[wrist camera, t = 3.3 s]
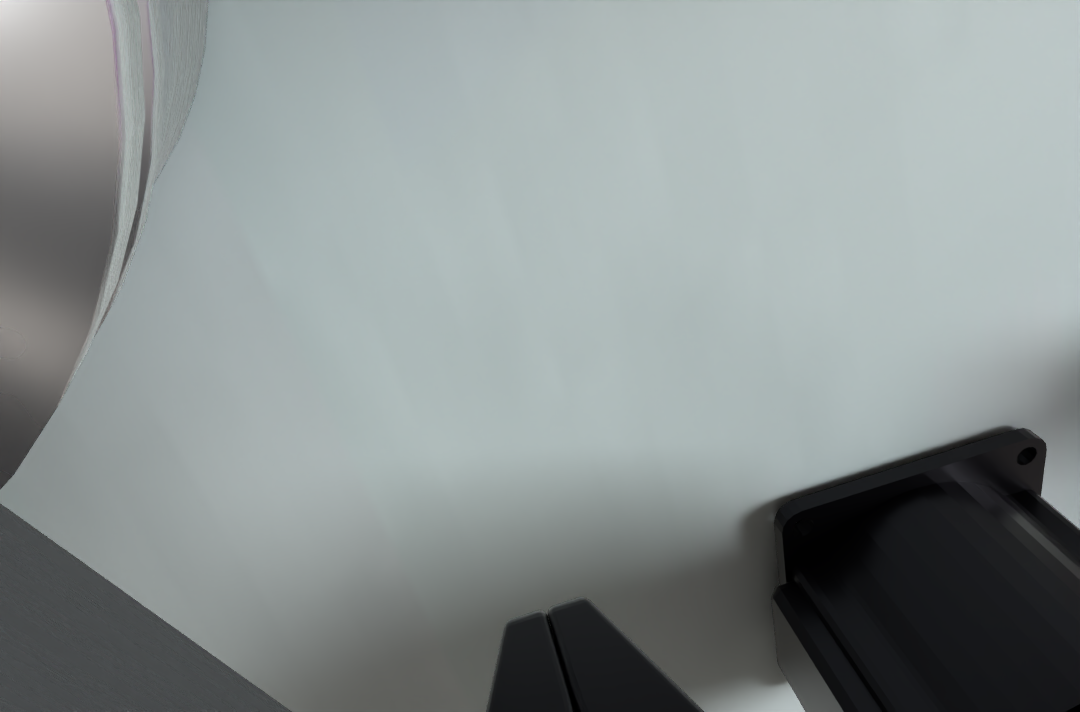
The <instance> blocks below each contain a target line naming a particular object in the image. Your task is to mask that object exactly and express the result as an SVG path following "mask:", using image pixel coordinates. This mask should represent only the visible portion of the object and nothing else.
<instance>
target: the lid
mask: <svg viewBox="0 0 1080 712" xmlns="http://www.w3.org/2000/svg"><path fill="white" fill-rule="evenodd" d="M144 125H145V99H144V80H143V61H142V43H141V24H140V13H139V7H138V2H137V0H0V489H1V488H2V487H3V486H4V485H5V484H6V483H7V481H8V480H9V479H10V478H11V477H12V476H13V475H14V474H15V472H16V470H17V469H18V467H19V466H20V464H21V463H22V461H23V460H24V458H25V456H26V455H27V453H28V452H29V450H30V449H31V447H32V446H33V444H34V442H35V441H36V439H37V438H38V436H39V435H40V433H41V432H42V430H43V428H44V427H45V425H46V424H47V422H48V421H49V419H50V418H51V416H52V415H53V413H54V411H55V410H56V408H57V407H58V405H59V403H60V401H61V399H62V398H63V396H64V394H65V392H66V390H67V388H68V387H69V385H70V383H71V381H72V379H73V378H74V376H75V374H76V372H77V370H78V368H79V367H80V365H81V363H82V361H83V359H84V358H85V356H86V354H87V352H88V350H89V348H90V346H91V343H92V341H93V339H94V336H95V334H96V332H97V329H98V327H99V325H100V322H101V320H102V318H103V315H104V313H105V311H106V308H107V306H108V304H109V301H110V299H111V297H112V294H113V292H114V290H115V287H116V285H117V283H118V280H119V276H120V272H121V268H122V264H123V260H124V255H125V251H126V247H127V243H128V239H129V235H130V231H131V227H132V223H133V219H134V215H135V211H136V207H137V203H138V192H139V181H140V169H141V158H142V147H143V136H144ZM0 712H291V711H290V710H288V709H287V708H286V707H284V706H283V705H281V704H280V703H279V702H277V701H276V700H274V699H273V698H272V697H270V696H269V695H267V694H266V693H265V692H263V691H262V690H260V689H259V688H258V687H256V686H255V685H253V684H252V683H251V682H249V681H248V680H246V679H245V678H244V677H242V676H241V675H239V674H238V673H237V672H235V671H234V670H232V669H231V668H230V667H228V666H227V665H225V664H224V663H223V662H221V661H220V660H218V659H217V658H216V657H214V656H213V655H211V654H210V653H209V652H207V651H206V650H204V649H203V648H202V647H200V646H199V645H197V644H196V643H195V642H193V641H192V640H191V639H189V638H188V637H186V636H185V635H184V634H182V633H181V632H179V631H178V630H177V629H175V628H174V627H172V626H171V625H170V624H168V623H167V622H165V621H164V620H163V619H161V618H160V617H158V616H157V615H156V614H154V613H153V612H151V611H150V610H149V609H147V608H146V607H144V606H143V605H142V604H140V603H139V602H137V601H136V600H135V599H133V598H132V597H130V596H129V595H128V594H126V593H125V592H123V591H122V590H121V589H119V588H118V587H116V586H115V585H114V584H112V583H111V582H109V581H108V580H107V579H105V578H104V577H102V576H101V575H100V574H98V573H97V572H95V571H94V570H93V569H91V568H90V567H88V566H87V565H86V564H84V563H83V562H81V561H80V560H79V559H77V558H76V557H74V556H73V555H72V554H70V553H69V552H67V551H66V550H65V549H63V548H62V547H60V546H59V545H58V544H56V543H55V542H53V541H52V540H51V539H49V538H48V537H46V536H45V535H44V534H42V533H41V532H39V531H38V530H37V529H35V528H34V527H32V526H31V525H30V524H28V523H27V522H25V521H24V520H23V519H21V518H20V517H18V516H17V515H16V514H14V513H13V512H11V511H10V510H9V509H7V508H6V507H4V506H3V505H2V504H0Z"/></svg>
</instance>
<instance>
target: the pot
mask: <svg viewBox="0 0 1080 712" xmlns="http://www.w3.org/2000/svg"><path fill="white" fill-rule="evenodd" d="M137 2H138V7H139V13H140V24H141V43H142V61H143V80H144V99H145V125H144V136H143V147H142V158H141V169H140V181H139V192H138V203H137V207H136V211H135V215H134V219H133V223H132V227H131V231H130V235H129V239H128V243H127V247H126V251H125V255H124V260H123V264H122V268H121V272H120V276H119V280H118V283H117V285H116V287H115V290H114V292H113V294H112V297H111V299H110V301H109V304H108V306H107V308H106V311H105V313H104V315H103V318H102V320H101V322H100V325H99V327H98V329H97V331H98V330H99V328H100V326H101V324H102V323H103V321H104V319H105V317H106V315H107V314H108V312H109V310H110V308H111V306H112V305H113V303H114V301H115V299H116V297H117V296H118V294H119V292H120V290H121V288H122V286H123V283H124V280H125V277H126V275H127V272H128V269H129V267H130V264H131V261H132V259H133V256H134V253H135V250H136V248H137V245H138V242H139V240H140V237H141V234H142V231H143V229H144V226H145V223H146V219H147V214H148V209H149V204H150V199H151V194H152V189H153V185H154V183H155V181H156V180H157V178H158V176H159V175H160V173H161V171H162V169H163V167H164V166H165V164H166V162H167V160H168V159H169V157H170V155H171V153H172V151H173V150H174V148H175V146H176V144H177V142H178V141H179V138H180V136H181V133H182V130H183V128H184V125H185V122H186V119H187V117H188V114H189V111H190V109H191V106H192V103H193V101H194V98H195V94H196V89H197V85H198V80H199V75H200V70H201V66H202V61H203V56H204V52H205V42H206V28H207V13H208V0H137ZM96 333H97V332H96ZM95 335H96V334H95ZM94 337H95V336H94Z"/></svg>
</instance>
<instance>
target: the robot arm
mask: <svg viewBox="0 0 1080 712" xmlns="http://www.w3.org/2000/svg"><path fill="white" fill-rule="evenodd" d="M1046 450H1047V449H1046V443H1045V442H1044V441H1043V440H1042V439H1041V438H1040V437H1038V436H1037V435H1036V434H1034V433H1033V432H1032V431H1031V430H1028V429H1025V428H1022V429H1016V430H1013V431H1009V432H1006V433H1003V434H1000V435H997V436H994V437H990V438H987V439H984V440H981V441H978V442H975V443H972V444H968V445H965V446H962V447H959V448H956V449H953V450H949V451H946V452H943V453H940V454H937V455H934V456H930V457H927V458H924V459H921V460H918V461H915V462H912V463H908V464H905V465H902V466H899V467H896V468H893V469H889V470H886V471H883V472H880V473H877V474H874V475H870V476H867V477H864V478H861V479H858V480H855V481H852V482H848V483H845V484H842V485H839V486H836V487H833V488H829V489H826V490H823V491H820V492H817V493H814V494H810V495H807V496H804V497H801V498H798V499H795V500H792V501H790V502H788V503H786V504H785V505H784V506H782V507H781V508H780V509H779V511H778V512H777V514H776V516H775V520H774V527H775V538H776V550H777V561H778V572H779V584H780V585H778V586H776V587H775V590H774V592H773V594H772V597H771V600H772V611H773V621H774V631H775V642H776V652H777V661H778V665H779V667H780V668H781V670H782V672H783V673H784V675H785V677H786V679H787V680H788V682H789V684H790V686H791V687H792V689H793V691H794V693H795V694H796V696H797V698H798V699H799V701H800V703H801V705H802V706H803V708H804V710H805V712H1080V529H1079V528H1078V527H1076V526H1075V525H1074V524H1073V523H1072V522H1070V521H1069V520H1068V519H1067V518H1066V517H1065V516H1063V515H1062V514H1061V513H1060V512H1059V511H1058V510H1056V509H1055V508H1054V507H1053V506H1052V505H1050V504H1049V503H1048V502H1047V501H1046V500H1045V499H1043V498H1042V497H1041V490H1042V482H1043V474H1044V466H1045V458H1046ZM802 519H803V520H802ZM800 520H802V521H801V522H799V523H798V524H796V523H797V522H798V521H800ZM795 524H796V525H795ZM548 618H549V619H548ZM549 621H550V622H549ZM550 625H551V626H550ZM486 712H704V711H703V710H702V709H701V708H700V707H699V706H698V705H697V704H696V703H695V702H694V701H693V700H692V699H691V698H690V697H689V696H688V695H687V694H686V693H685V692H683V691H682V690H681V689H680V688H679V687H678V686H677V685H676V684H675V683H674V682H673V681H672V680H671V679H670V678H669V677H668V676H667V675H666V674H665V673H664V672H663V671H662V670H661V669H660V668H659V667H658V666H657V665H656V664H655V663H654V662H653V661H652V660H651V659H650V658H649V657H648V656H647V655H646V654H645V653H644V652H643V651H642V650H641V649H639V648H638V647H637V646H636V645H635V644H634V643H633V642H632V641H631V640H630V639H629V638H628V637H627V636H626V635H625V634H624V633H623V632H622V631H621V630H620V629H619V628H618V627H617V626H616V625H615V624H614V623H613V622H612V621H611V620H610V619H609V618H608V617H607V616H606V615H605V614H604V613H603V612H602V611H601V610H600V609H599V608H598V607H597V606H596V605H594V604H593V603H592V602H591V601H590V600H589V599H587V598H584V597H579V598H576V599H573V600H569V601H566V602H563V603H560V604H557V605H554V606H552V607H550V609H549V610H548V616H547V614H546V613H545V612H544V611H542V610H538V611H534V612H531V613H528V614H525V615H522V616H518V617H515V618H512V619H510V620H508V621H507V623H506V624H505V627H504V630H503V634H502V639H501V643H500V648H499V653H498V657H497V662H496V667H495V672H494V676H493V681H492V686H491V690H490V695H489V700H488V704H487V709H486Z"/></svg>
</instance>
